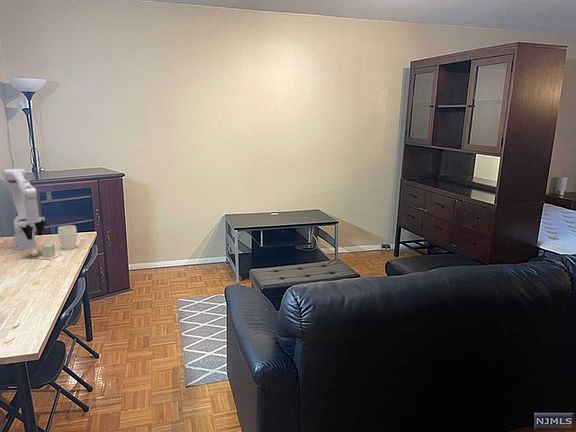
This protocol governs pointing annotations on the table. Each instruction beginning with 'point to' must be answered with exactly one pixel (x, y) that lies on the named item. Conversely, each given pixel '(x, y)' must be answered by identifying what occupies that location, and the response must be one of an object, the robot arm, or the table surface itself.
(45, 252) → the sage cup
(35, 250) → the marble
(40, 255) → the mat
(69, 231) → the cup
